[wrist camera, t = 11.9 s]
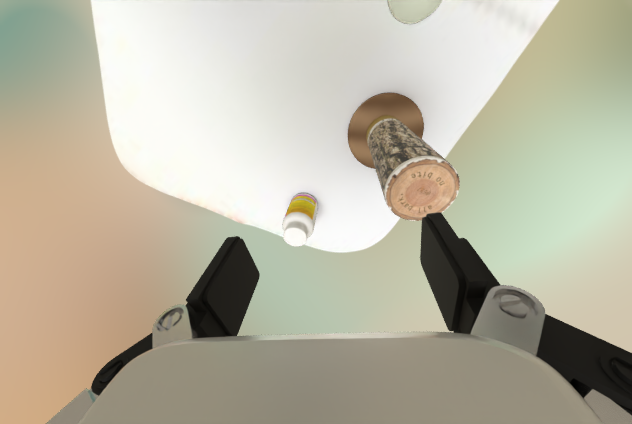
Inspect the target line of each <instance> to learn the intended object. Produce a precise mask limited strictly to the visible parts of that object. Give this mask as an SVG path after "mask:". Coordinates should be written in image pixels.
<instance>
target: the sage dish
mask: <svg viewBox="0 0 632 424" xmlns="http://www.w3.org/2000/svg"><path fill="white" fill-rule="evenodd" d="M441 2H442V0H388V5H389V9H390V11H391V13H392V15H393V16H394V17H395V18H396V19H397V20H398V21H400V22H402V23H405V24H413V23H417V22H419V21H421V20H423V19H425V18H426V17H428V16H429V15H430V14H431V13H433V12H434V11H435V10H436V8H437V7H438V6H439V5H440V3H441Z"/></svg>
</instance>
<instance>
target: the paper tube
mask: <svg viewBox="0 0 632 424" xmlns="http://www.w3.org/2000/svg"><path fill="white" fill-rule="evenodd" d="M366 139H367V143H368V147H369V150H370V153H371V156H372V159H373V162H374V166H375V169H376V172H377V175H378V178H379V181H380V185H381V188H382V191H383V194H384V197H385V200H386V203H387V205H388V207H389V208H390V210H391V211H392V212H393V213H394V214H395V215H397V216H399V217H401V218H403V219H407V220H413V221H414V220H415V221H419V220H422V218H423V217H426V215H427V214H429V213H437V212H441V213H442V212H443V211H445V210H446V209H447V208H448V207H449V206H450V205H451V204H452V203H453V201H454V200H455V198H456V196H457V194H458V191H459V186H460V181H459V177H458V174H457V172H456V170H455V169H454V168H453V166H452V165H451V164H450V163H449V162H447V161H446V160H445V159H444V158H443V157H442V156H440V155H439V154H438V153H437V152H436V151H435V150H433V149H432V148H431V147H430V146H429V145H428V144H426V143H425V142H424V141H423V140H422V139H421V138H419V137H418V136H417V135H416V134H415V133H414V132H412V131H411V130H410V129H409V128H408V127H407V126H405V125H404V124H403V123H402V122H401V121H399V120H398V119H397V118H395V117H393V116H389V115H385V116H381V117H378V118H377V119H375V120H374V121H373V122H372V123H371V124H370V126H369V127H368V130H367V134H366Z"/></svg>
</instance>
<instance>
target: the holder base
mask: <svg viewBox="0 0 632 424" xmlns="http://www.w3.org/2000/svg"><path fill="white" fill-rule="evenodd" d="M385 115H389V116H393V117H395V118H397V119H398V120H399V121H401V122H402V123H403V124H404V125H405V126H407V127H408V128H409V129H410V130H411V131H412V132H414V133H415V134H416V135H417V136H418V137H419V138H421V139H422V135H423V129H424V123H423V117H422V114H421V112H420V110H419V108H418V106H417V105H416V104H415V103H414V102H413V101H412V100H411V99H409V98H407V97H406V96H403V95H400V94H396V93H383V94H379V95H376V96H373V97H371V98H370V99H368V100H366V101H365V102H364V103H363V104H362V105H361V106H360V107H359V108H358V109H357V110H356V112H355V113H354V115H353V117H352V119H351V121H350V124H349V128H348V142H349V147H350V150H351V152H352V154H353V155H354V157H355V158H356V159H357V160H358V161H359V162H360V163H362V164H363V165H365V166H367V167H370V168H374V169H375V166H374V162H373V159H372V156H371V153H370V150H369V147H368V143H367V139H366V134H367V130H368V127H369V126H370V124H371V123H372V122H373V121H374V120H375V119H377V118H378V117H381V116H385Z"/></svg>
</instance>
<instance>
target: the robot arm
mask: <svg viewBox="0 0 632 424" xmlns="http://www.w3.org/2000/svg"><path fill="white" fill-rule="evenodd" d="M420 257H421V264H422V267H423V270H424V272H425V275H426V277H427V279H428V282H429V284H430V287H431V289H432V292H433V294H434V296H435V299H436V301H437V303H438V306H439V308H440V311H441V313H442V316H443V318H444V321H445V323H446V325H447V327H448V330H449V331H454V333H451V332H450V333H449V332H371V333H330V334H329V333H328V334H292V335H291V334H290V335H258V336H237V334H238V332H239V329H240V326H241V324H242V321H243V319H244V316H245V314H246V311H247V308H248V306H249V303H250V300H251V298H252V295H253V293H254V290H255V288H256V285H257V282H258V280H259V271H258V269H257V267H256V265H255V263H254V261H253V259H252V257H251V255H250V253H249V251H248V249H247V247H246V245H245V243H244V241H243V239H240V237H238V236H236V237H228V238H227V239H226V240H225V242H224V243H223V244H222V246H221V248H220V249H219V251H218V252H217V254H216V255H215V257H214V258H213V260H212V261H211V263H210V264H209V266H208V267H207V269H206V270H205V272H204V273H203V275H202V276H201V278H200V279H199V281H198V282H197V284H196V285H195V287H194V288H193V290H192V291H191V293H190V294H189V296H188V297H187V299H186V301H187V302H188V303H187V304H186V306H185V305H175V306H173V307H171V308H169V309H167V310H166V311H164V312H163V313H162V314H161V315H160V316H159V317H158V319H157V320H156V322H155V323H154V325H153V331H152V333H151V334H150V335H148V336H147V337H145V338H144V339H142V340H141V341H139V342H138V343H136V344H135V345H133V346H132V347H130V348H129V349H127V350H126V351H124V352H123V353H121V354H119V355H118V356H116V357H115V358H113V359H112V360H111V361H110V362H108V363H107V364H106V365H105V366H104V367H103V368H102V369H101V370H100V371H99V373H98V374H97V375H96V377H95V379H94V381H93V383H92V386H91V389H90V390H88V389H87V388H86V389H85V390H84V391H82V392H81V393H80V394H79V395H78V396H77V397H76V398H74V399H73V400H72V401H71V402H70V403H69V404H68V405H67V406H65V407H64V408H63V409H62V410H61V411H60V412H59V413H57V414H56V415H55V416H54V417H53V418H52V419H51V420H49V422H47V423H46V424H632V353H630V352H628V351H626V350H624V349H621V348H619V347H617V346H615V345H612V344H610V343H608V342H606V341H604V340H602V339H599V338H597V337H595V336H593V335H590V334H588V333H586V332H584V331H582V330H580V329H577V328H575V327H573V326H571V325H569V324H566V323H564V322H562V321H560V320H557V319H555V318H553V317H551V316H549V315H547V314H545V309H544V307H543V305H542V303H541V302H540V301H539V300H538V299H537V298H536V297H535V296H533V295H532V294H530V293H528V292H527V291H525V290H522V289H520V288H517V287H513V286H506V285H500V284H499V282H498V281H497V280H496V278H495V277H494V276H493V274H492V273H491V272H490V270H489V269H488V268H487V266H486V265H485V263H484V262H483V261H482V259H481V258H480V257H479V255H478V254H477V253H476V251H475V250H474V249H473V247H472V246H471V245H470V243H469V242H468V241H467V240H466V239H465V238H458V236H457V235H456V234H455V232H454V231H453V229H452V228H451V226H450V225H449V224H448V222H447V221H446V219H445V218H444V216H443V215H442V214H441V212H437V213H429V214H427V215H426V217H423V218H422V232H421V256H420Z"/></svg>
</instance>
